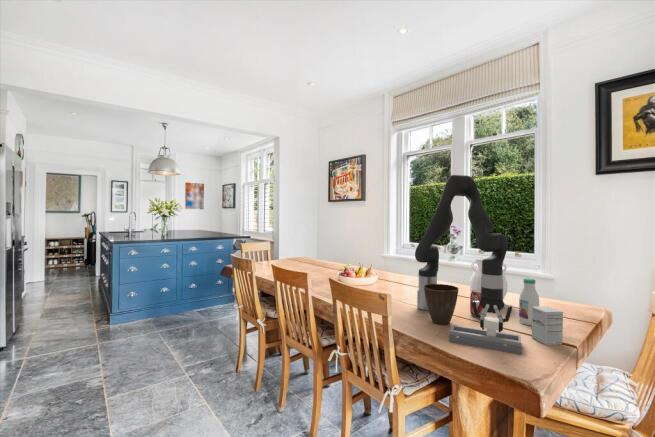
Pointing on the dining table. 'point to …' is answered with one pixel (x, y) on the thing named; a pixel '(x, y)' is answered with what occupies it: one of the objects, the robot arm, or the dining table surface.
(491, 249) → the robot arm
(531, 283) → the milk bottle
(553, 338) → the supplement box
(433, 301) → the plant pot
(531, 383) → the dining table surface
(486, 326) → the fader knob
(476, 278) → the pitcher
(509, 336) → the fader console
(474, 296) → the soda can
